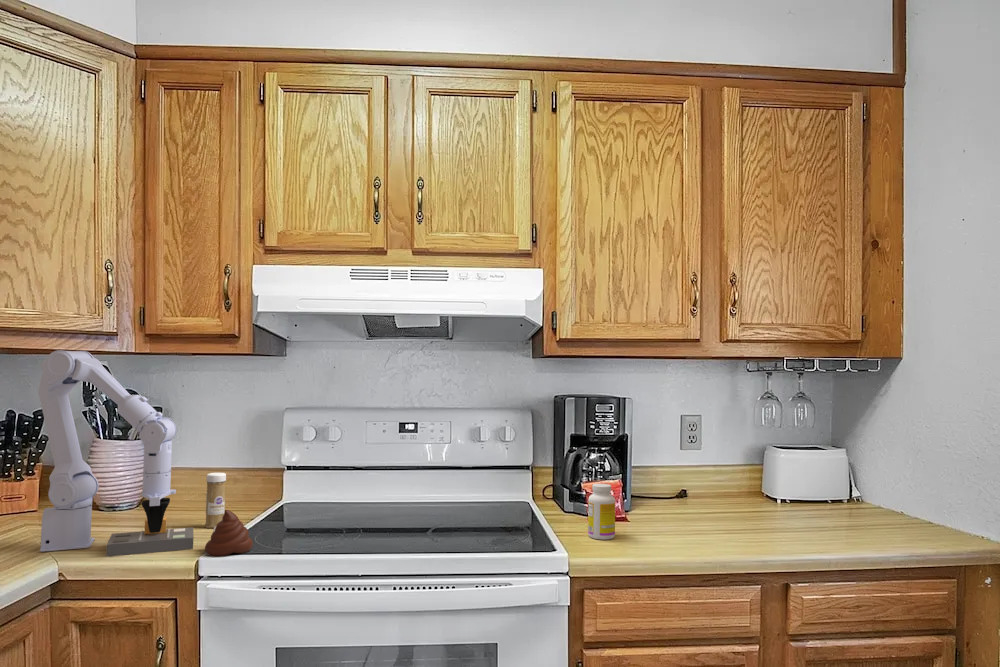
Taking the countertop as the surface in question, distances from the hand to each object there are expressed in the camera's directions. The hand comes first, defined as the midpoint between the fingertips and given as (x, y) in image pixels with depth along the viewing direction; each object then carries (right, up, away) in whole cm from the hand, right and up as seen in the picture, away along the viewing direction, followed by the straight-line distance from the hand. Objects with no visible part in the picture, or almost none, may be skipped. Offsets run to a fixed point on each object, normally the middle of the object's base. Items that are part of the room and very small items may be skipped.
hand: (154, 531), depth 156 cm
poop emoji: (+18, -4, -3) cm, 19 cm away
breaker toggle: (-1, -1, +2) cm, 3 cm away
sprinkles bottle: (+6, -4, +19) cm, 20 cm away
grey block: (0, -3, -1) cm, 3 cm away
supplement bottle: (+104, -6, +15) cm, 105 cm away
